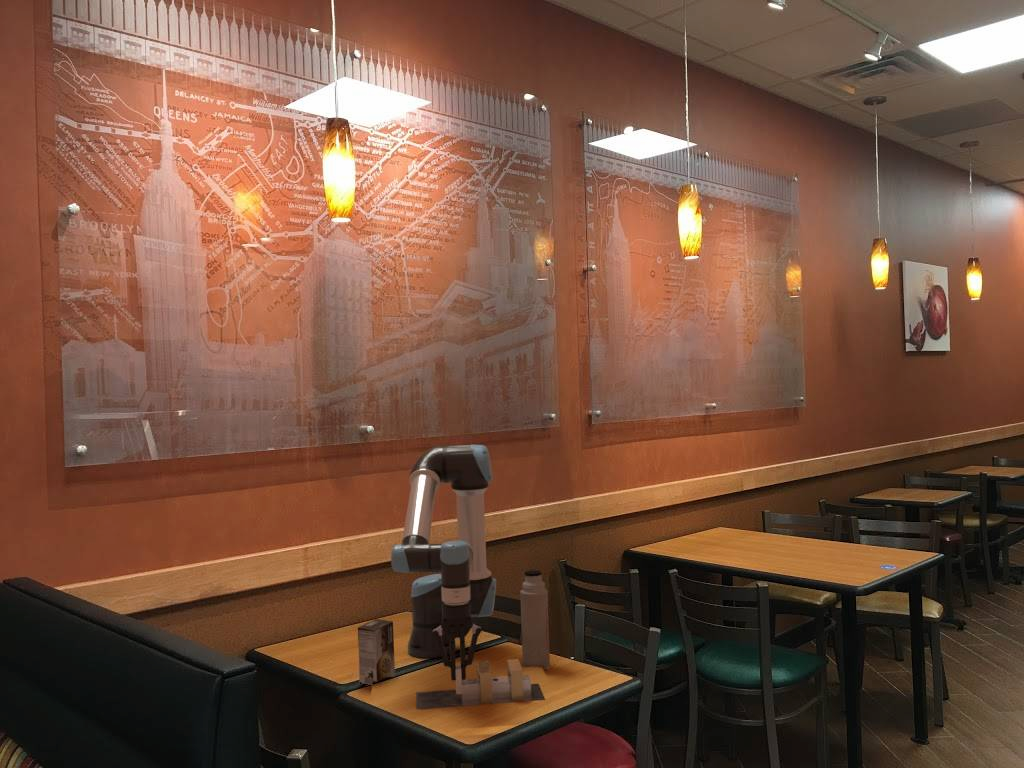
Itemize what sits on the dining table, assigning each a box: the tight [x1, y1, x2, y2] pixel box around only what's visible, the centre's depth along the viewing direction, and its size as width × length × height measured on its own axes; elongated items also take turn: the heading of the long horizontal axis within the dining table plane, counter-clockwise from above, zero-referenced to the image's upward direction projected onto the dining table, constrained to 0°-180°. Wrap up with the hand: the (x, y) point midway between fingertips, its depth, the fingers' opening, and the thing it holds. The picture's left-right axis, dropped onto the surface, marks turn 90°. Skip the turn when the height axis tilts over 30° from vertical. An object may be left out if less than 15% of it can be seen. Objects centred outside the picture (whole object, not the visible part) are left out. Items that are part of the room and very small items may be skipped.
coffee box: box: [357, 618, 396, 686], centre depth 237 cm, size 9×6×16 cm
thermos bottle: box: [519, 569, 551, 671], centre depth 245 cm, size 8×8×28 cm
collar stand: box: [415, 658, 546, 711], centre depth 219 cm, size 12×33×9 cm, turn 97°
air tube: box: [461, 674, 532, 700], centre depth 219 cm, size 4×18×4 cm, turn 96°
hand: (458, 692), depth 218 cm, fingers closed
